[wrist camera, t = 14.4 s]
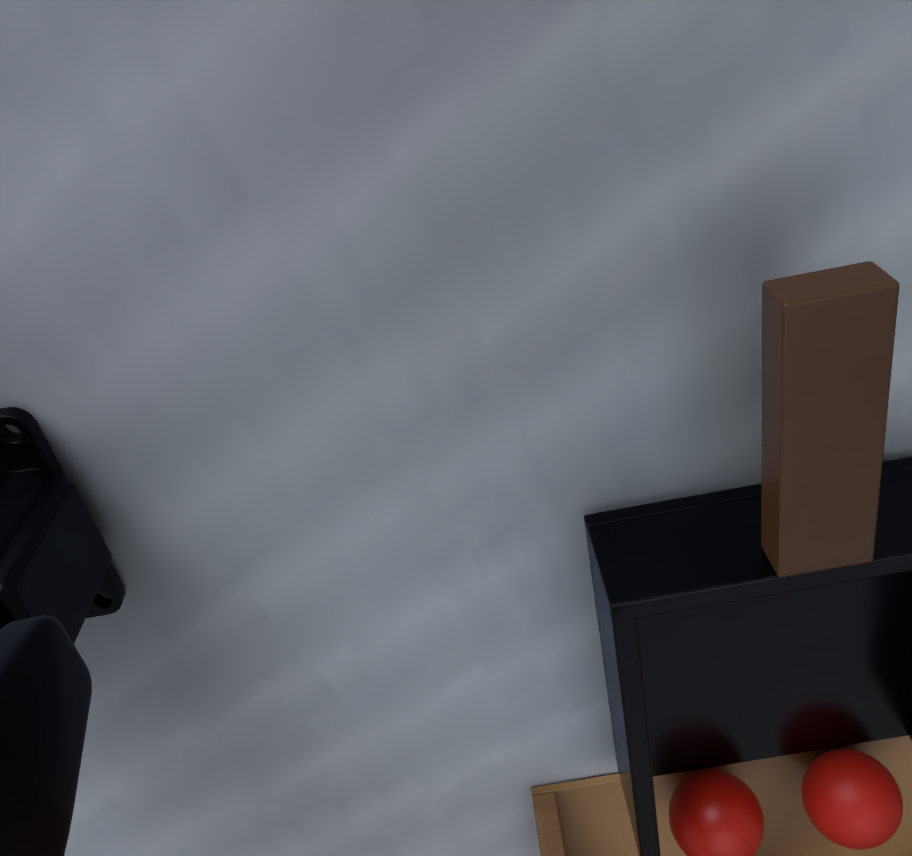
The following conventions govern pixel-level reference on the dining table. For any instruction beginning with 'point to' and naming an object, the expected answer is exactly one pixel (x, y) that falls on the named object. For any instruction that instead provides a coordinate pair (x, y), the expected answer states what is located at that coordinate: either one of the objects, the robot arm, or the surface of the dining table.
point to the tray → (772, 779)
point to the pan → (770, 565)
